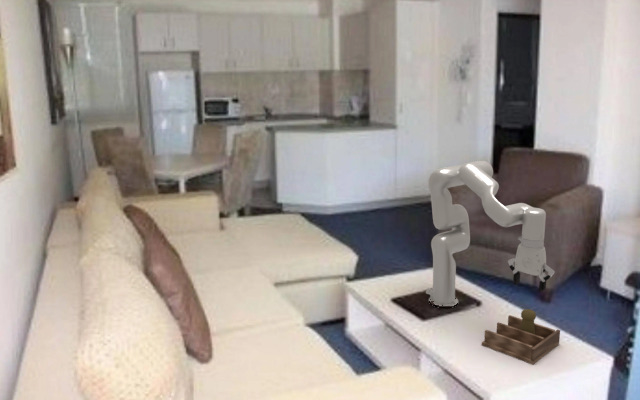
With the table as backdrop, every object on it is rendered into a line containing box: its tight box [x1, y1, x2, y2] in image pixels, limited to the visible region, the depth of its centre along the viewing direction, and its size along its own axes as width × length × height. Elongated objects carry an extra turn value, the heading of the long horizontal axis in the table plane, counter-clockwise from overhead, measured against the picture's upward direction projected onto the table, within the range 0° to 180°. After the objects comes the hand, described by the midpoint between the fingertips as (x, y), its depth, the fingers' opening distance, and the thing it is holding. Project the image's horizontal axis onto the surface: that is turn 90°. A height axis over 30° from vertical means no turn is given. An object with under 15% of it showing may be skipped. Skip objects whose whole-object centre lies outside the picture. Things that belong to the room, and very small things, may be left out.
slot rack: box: [481, 315, 561, 365], centre depth 210 cm, size 20×20×6 cm
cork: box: [520, 308, 537, 334], centre depth 212 cm, size 6×6×11 cm
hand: (529, 287), depth 208 cm, fingers open, 9 cm apart
